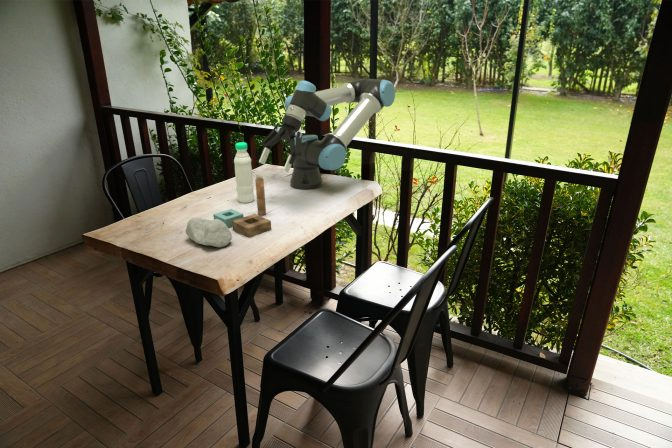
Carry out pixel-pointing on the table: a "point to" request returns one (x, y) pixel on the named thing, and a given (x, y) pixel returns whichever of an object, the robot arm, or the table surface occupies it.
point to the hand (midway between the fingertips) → (273, 167)
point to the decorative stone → (208, 232)
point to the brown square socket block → (251, 225)
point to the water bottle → (243, 174)
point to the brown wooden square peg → (260, 195)
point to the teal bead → (228, 216)
